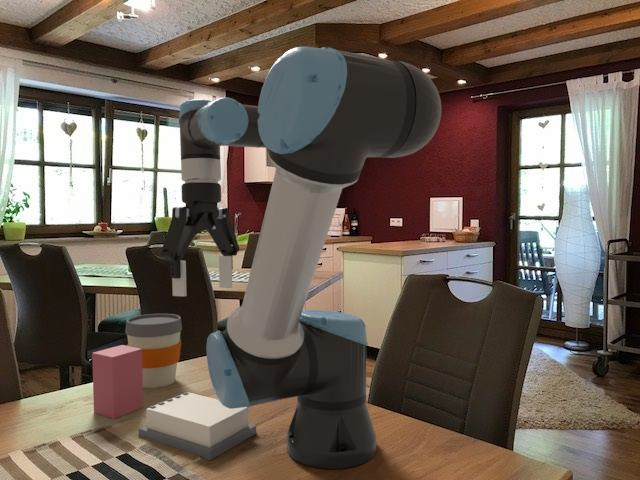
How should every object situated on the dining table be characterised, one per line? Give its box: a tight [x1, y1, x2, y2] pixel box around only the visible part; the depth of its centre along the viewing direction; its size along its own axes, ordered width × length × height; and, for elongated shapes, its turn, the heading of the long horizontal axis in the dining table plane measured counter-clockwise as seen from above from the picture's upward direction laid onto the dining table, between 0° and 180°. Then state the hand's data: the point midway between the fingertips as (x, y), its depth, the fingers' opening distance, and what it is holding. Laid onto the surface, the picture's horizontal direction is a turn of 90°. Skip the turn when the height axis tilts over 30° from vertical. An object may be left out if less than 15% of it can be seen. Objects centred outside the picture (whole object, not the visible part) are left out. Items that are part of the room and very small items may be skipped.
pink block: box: [91, 344, 144, 420], centre depth 107 cm, size 6×7×12 cm
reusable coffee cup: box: [124, 313, 183, 389], centre depth 125 cm, size 13×13×15 cm
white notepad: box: [138, 391, 257, 461], centre depth 96 cm, size 17×12×5 cm
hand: (204, 291), depth 105 cm, fingers open, 13 cm apart
